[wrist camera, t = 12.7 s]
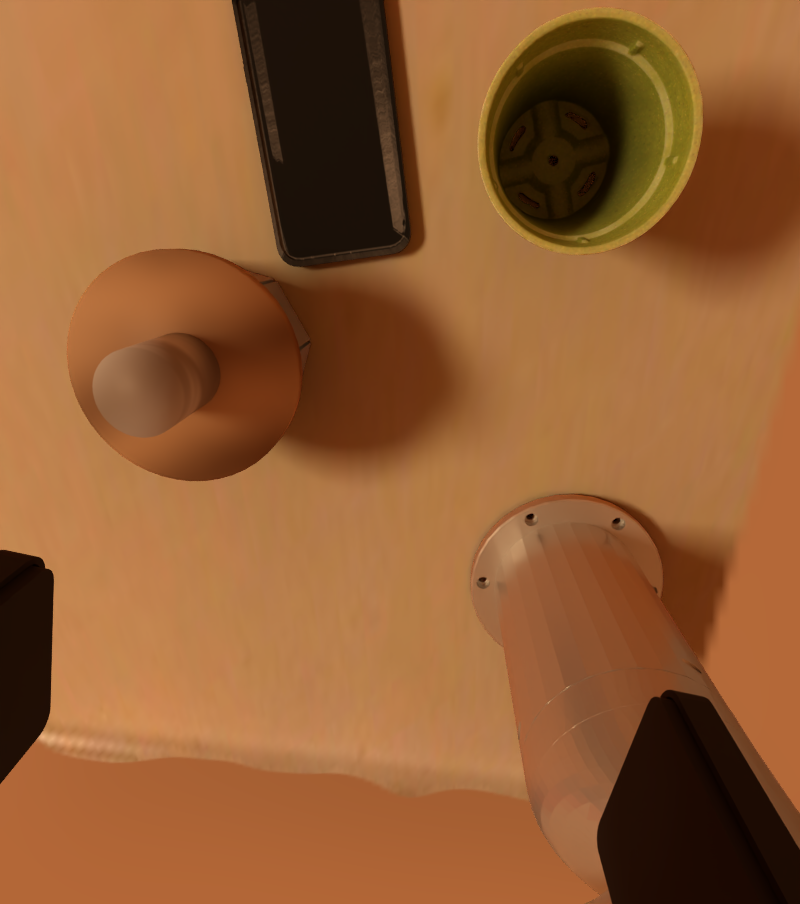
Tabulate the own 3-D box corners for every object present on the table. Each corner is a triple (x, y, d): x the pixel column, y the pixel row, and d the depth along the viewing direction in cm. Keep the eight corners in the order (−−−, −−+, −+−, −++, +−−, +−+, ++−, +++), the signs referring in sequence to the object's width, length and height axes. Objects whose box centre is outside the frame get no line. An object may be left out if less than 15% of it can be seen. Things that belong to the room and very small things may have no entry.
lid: (343, 413, 33) (324, 449, 28) (164, 507, 36) (110, 558, 30) (221, 202, 30) (170, 192, 25) (34, 320, 33) (-54, 336, 27)
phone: (375, -62, 31) (412, 251, 36) (377, -52, 32) (413, 250, 37) (223, -34, 32) (279, 269, 36) (230, -25, 33) (283, 268, 37)
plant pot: (675, 122, 34) (752, 83, 25) (577, 282, 36) (618, 293, 28) (526, 29, 33) (555, -43, 24) (437, 201, 35) (437, 187, 27)
